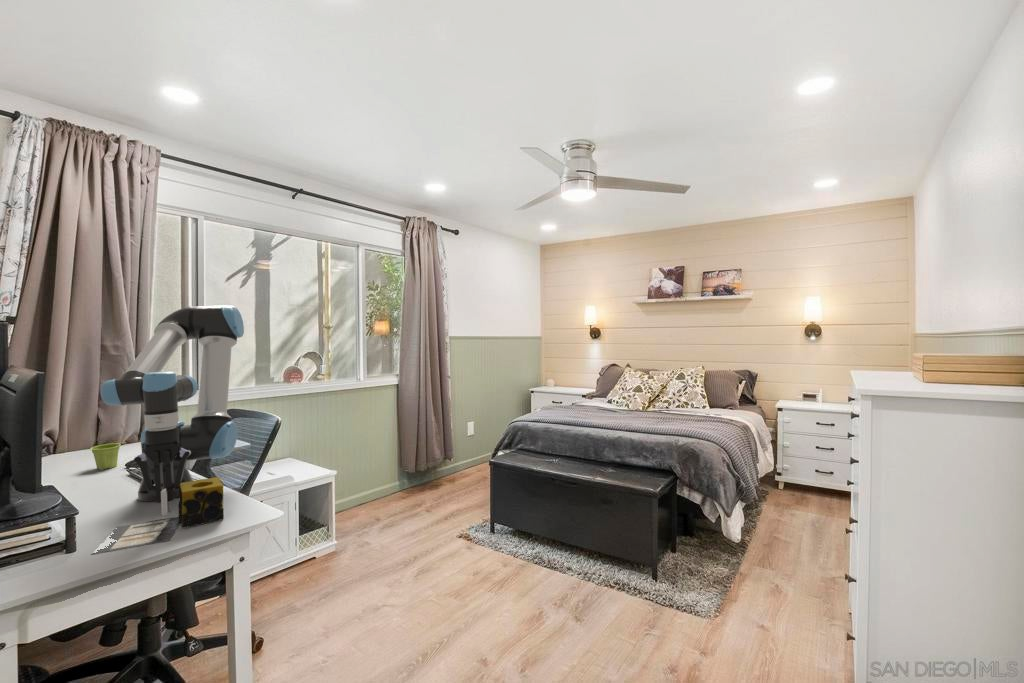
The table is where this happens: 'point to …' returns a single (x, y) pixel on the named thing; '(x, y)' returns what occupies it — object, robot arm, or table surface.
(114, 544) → the label plate
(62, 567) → the table surface
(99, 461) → the plant pot
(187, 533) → the table surface
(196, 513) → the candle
